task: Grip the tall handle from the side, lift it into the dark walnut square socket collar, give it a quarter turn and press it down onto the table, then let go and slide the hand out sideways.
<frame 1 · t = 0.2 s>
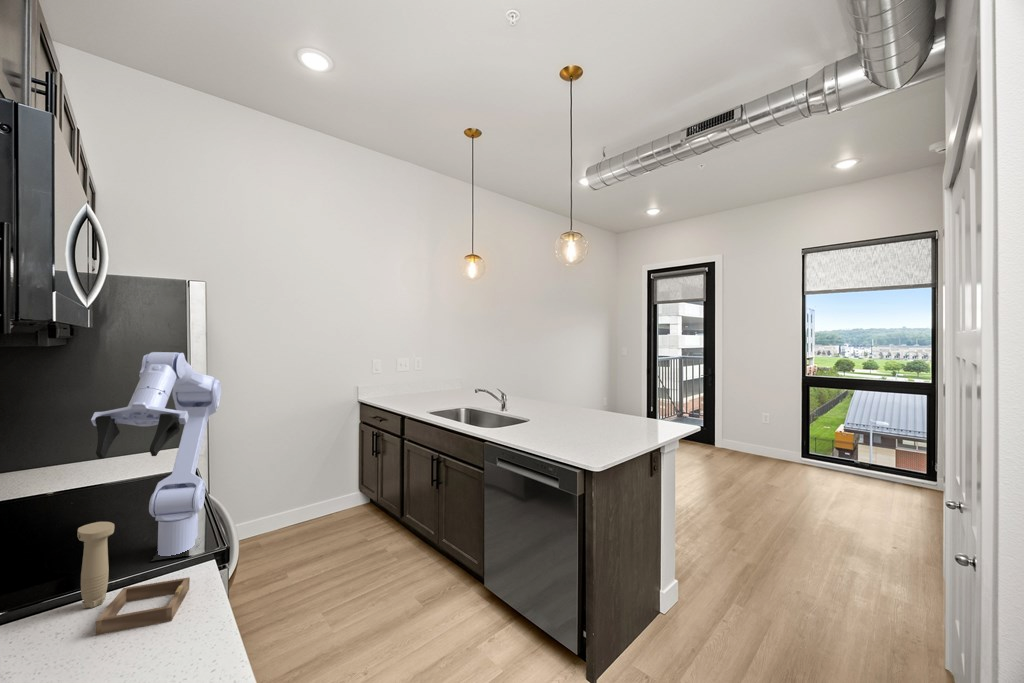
hand: (126, 454, 78), 31 cm above the worktop, tool tilted 45°, fingers open, 7 cm apart
handle: (94, 605, 82), on the worktop
collar: (146, 610, 81), on the worktop
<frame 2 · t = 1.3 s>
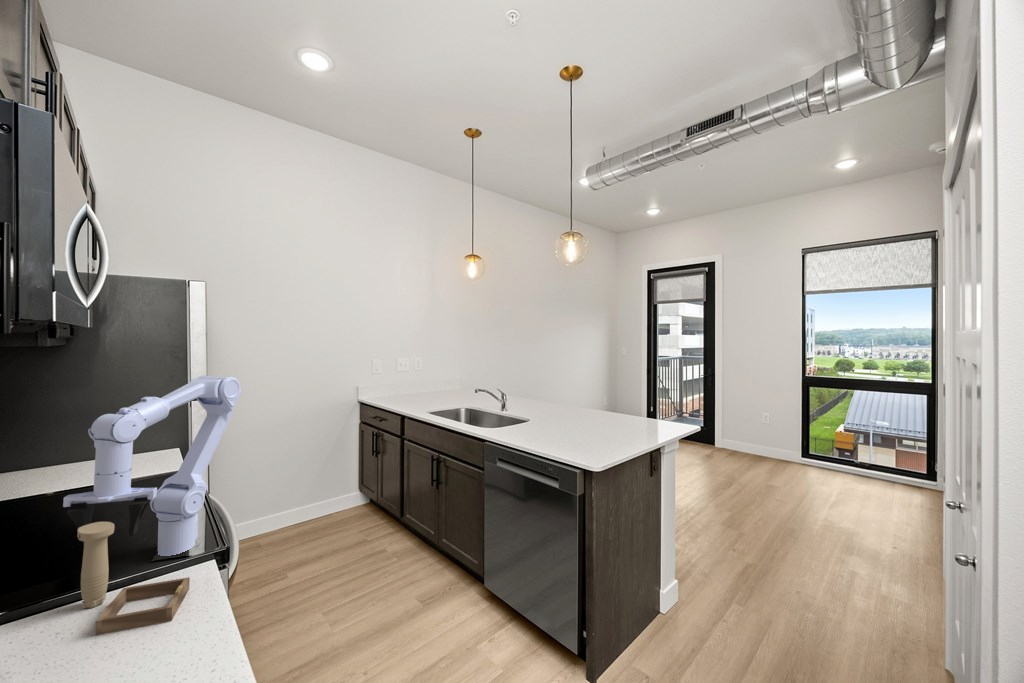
hand: (109, 536, 88), 10 cm above the worktop, tool pointing down, fingers open, 7 cm apart
nothing on the worktop moved.
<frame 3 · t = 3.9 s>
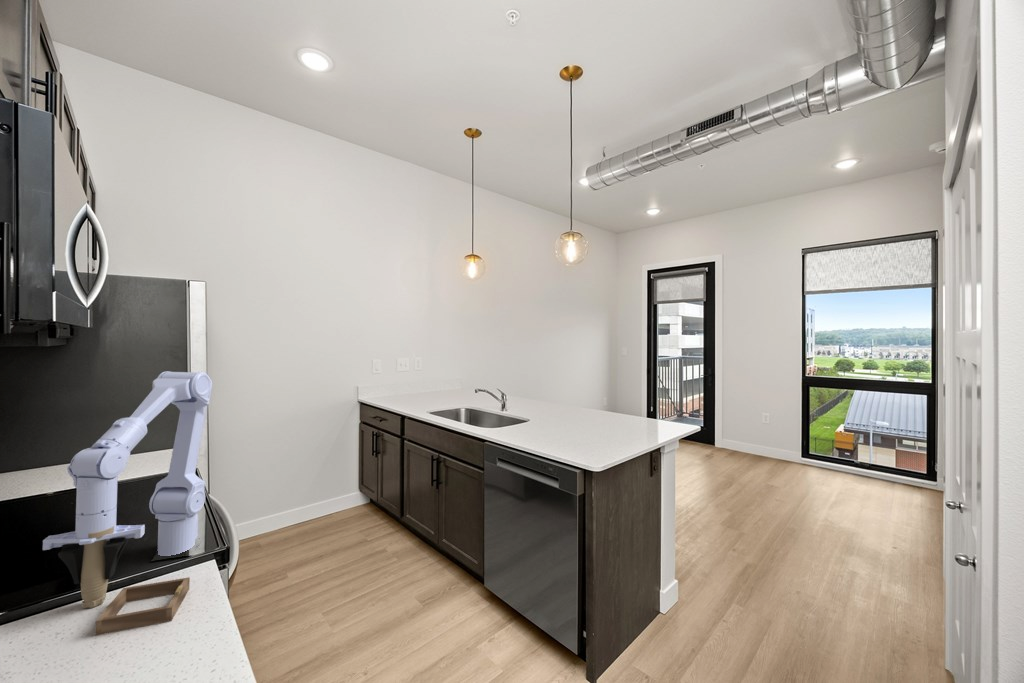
hand: (94, 579, 82), 5 cm above the worktop, tool pointing down, fingers closed on handle, 4 cm apart
handle: (94, 605, 82), on the worktop, touching gripper
when the fingers open (5 cm above the worktop, at t = 8.9 s): handle stays where it is, resting in collar.
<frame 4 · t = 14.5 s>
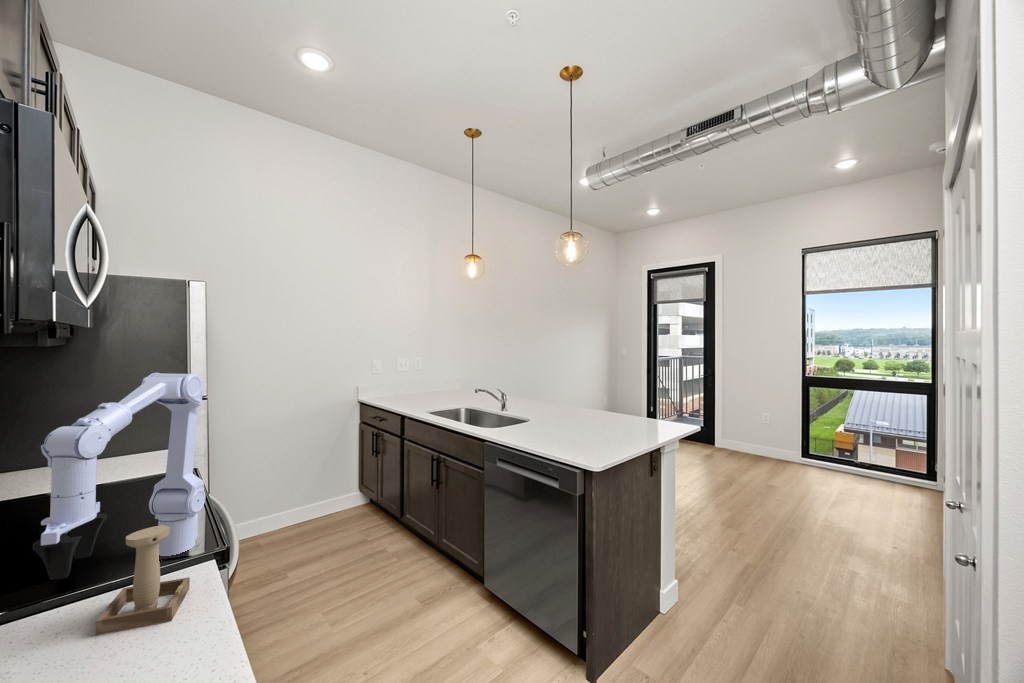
hand: (71, 567, 77), 10 cm above the worktop, tool pointing down, fingers open, 7 cm apart
handle: (146, 611, 81), resting in collar
at the end: handle 0.0 cm off-centre on the collar, point 0.0 cm above the collar's base; handle tilted 0°; the gripper is holding nothing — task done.
